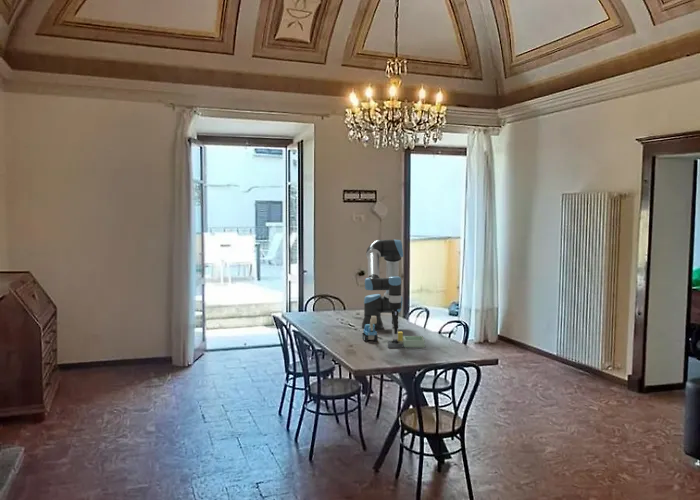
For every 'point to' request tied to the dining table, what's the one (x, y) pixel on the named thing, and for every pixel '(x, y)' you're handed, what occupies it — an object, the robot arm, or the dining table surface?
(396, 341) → the stop pin
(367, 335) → the toy excavator
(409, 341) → the tray
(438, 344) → the dining table surface
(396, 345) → the pin holder
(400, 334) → the chock
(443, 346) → the dining table surface
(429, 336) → the dining table surface
